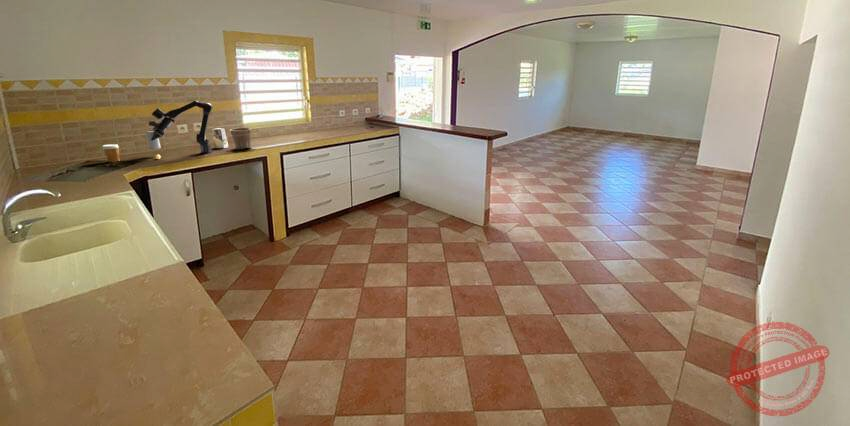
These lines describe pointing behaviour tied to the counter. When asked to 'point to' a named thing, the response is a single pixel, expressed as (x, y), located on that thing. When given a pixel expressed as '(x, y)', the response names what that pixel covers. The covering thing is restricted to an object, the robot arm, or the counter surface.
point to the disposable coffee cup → (112, 152)
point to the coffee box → (219, 138)
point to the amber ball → (157, 156)
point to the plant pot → (241, 137)
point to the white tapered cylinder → (154, 143)
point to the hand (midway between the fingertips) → (151, 139)
